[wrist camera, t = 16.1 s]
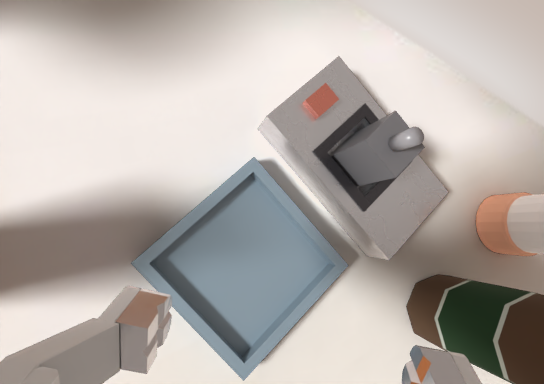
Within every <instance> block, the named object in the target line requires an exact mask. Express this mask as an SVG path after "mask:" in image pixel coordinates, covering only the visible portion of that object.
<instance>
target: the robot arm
mask: <svg viewBox="0 0 544 384" xmlns="http://www.w3.org/2000/svg"><path fill="white" fill-rule="evenodd" d="M171 306H172V296H171V295H169V294H164V293H160V292H156V291H151V290H147V289H141V288H137V287H133V286H127V287H125V288H124V289H123V290H122V291H121V293H120V294H119V295H118V296H117V297H116V298H115V299H114V301H113V302H112V303H111V304H110V305H109V306H108V308H107V309H106V310H105V311H104V312H103V313H102V314H101V316H100V317H99V318H98V319H95V318H92V319H90V320H88V321H86V322H83V323H81V324H79V325H77V326H74V327H72V328H70V329H68V330H65V331H63V332H61V333H59V334H56V335H54V336H52V337H50V338H47V339H45V340H43V341H41V342H38V343H36V344H34V345H32V346H29V347H27V348H25V349H23V350H20V351H18V352H16V353H14V354H11V355H9V356H7V357H5V358H4V359H3V360H2V361H1V362H0V384H102V383H104V382H105V381H106V380H108V379H109V378H110V377H112V376H113V375H115V374H116V373H117V372H119V371H120V369H122V370H128V371H133V372H139V373H144V374H147V373H148V371H149V369H150V367H151V365H152V364H153V362H154V360H155V358H156V356H157V348H158V347H160V346H161V345H163V343H164V341H165V339H166V337H167V334H168V332H169V329H170V324H171V316H172V315H171V314H170V312H169V309H170V308H171ZM410 356H411V359H412V360H411V361H409V362H408V363H406V364H405V366H404V369H403V372H402V384H482V383H481V381H480V380H479V378H478V376H477V374H476V373H475V371H474V369H473V367H472V366H471V364H470V362H469V360H468V359H467V357H466V356H465V355H463V354H460V353H454V352H449V351H442V350H437V349H432V348H427V347H422V346H417V345H415V346H414V347H413V348H412V350H411V352H410Z"/></svg>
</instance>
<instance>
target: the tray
mask: <svg viewBox="0 0 544 384" xmlns="http://www.w3.org/2000/svg"><path fill="white" fill-rule="evenodd" d="M131 264H132V265H133V266H134V267H135V268H136V269H137V270H138V271H139V272H140V273H141V274H142V275H143V276H144V278H145V279H146V280H147V281H148V282H149V283H150V284H151V285H152V286H153V287H154V288H155V289H156V290H157V291H158V292H160V293H164V294H169V295H171V296H172V307H173V308H174V309H175V310H176V311H177V312H178V313H179V314H180V315H181V316H182V317H183V318H184V319H185V320H186V321H187V322H188V323H189V324H190V325H191V327H192V328H193V329H194V330H195V331H196V332H197V333H198V334H199V335H200V336H201V337H202V338H203V339H204V340H205V341H206V342H207V343H208V344H209V345H210V346H211V347H212V348H213V349H214V350H215V352H216V353H217V354H218V355H219V356H220V357H221V358H222V359H223V360H224V361H225V362H226V363H227V364H228V365H229V366H230V367H231V368H232V369H233V370H234V371H235V372H236V373H237V374H238V375H239V377H240V378H241V379H242V380H243V381H244V380H245V379H246V378H247V377H248V375H249V374H250V373H251V372H252V371H253V370H254V369H255V368H256V367H257V366H258V364H259V363H260V362H261V361H262V360H263V359H264V358H265V357H266V356H267V355H268V353H269V352H270V351H271V350H272V349H273V348H274V347H275V346H276V345H277V344H278V342H279V341H280V340H281V339H282V338H283V337H284V336H285V335H286V334H287V333H288V331H289V330H290V329H291V328H292V327H293V326H294V325H295V324H296V323H297V322H298V320H299V319H300V318H301V317H302V316H303V315H304V314H305V313H306V312H307V311H308V310H309V308H310V307H311V306H312V305H313V304H314V303H315V302H316V301H317V300H318V299H319V297H320V296H321V295H322V294H323V293H324V292H325V291H326V290H327V289H328V288H329V286H330V285H331V284H332V283H333V282H334V281H335V280H336V279H337V278H338V277H339V275H340V274H341V273H342V272H343V271H344V270H345V269H346V268H347V267H348V266H349V265H348V264H347V263H346V262H345V261H344V260H343V258H342V257H341V256H340V255H339V254H338V253H337V251H336V250H335V249H334V248H333V247H332V246H331V245H330V243H329V242H328V241H327V240H326V239H325V238H324V237H323V235H322V234H321V233H320V232H319V231H318V230H317V229H316V227H315V226H314V225H313V224H312V223H311V222H310V220H309V219H308V218H307V217H306V216H305V215H304V214H303V212H302V211H301V210H300V209H299V208H298V207H297V206H296V204H295V203H294V202H293V201H292V200H291V199H290V198H289V196H288V195H287V194H286V193H285V192H284V191H283V189H282V188H281V187H280V186H279V185H278V184H277V183H276V181H275V180H274V179H273V178H272V177H271V176H270V175H269V173H268V172H267V171H266V170H265V169H264V168H263V166H262V165H261V164H260V163H259V162H258V161H257V160H256V158H255V157H253V158H252V159H251V160H250V161H249V162H247V163H246V164H245V165H244V166H243V167H242V168H241V169H239V170H238V171H237V172H236V173H235V174H234V175H232V176H231V177H230V178H229V179H228V180H227V181H225V182H224V183H223V184H222V185H221V186H220V187H219V188H217V189H216V190H215V191H214V192H213V193H212V194H210V195H209V196H208V197H207V198H206V199H205V200H203V201H202V202H201V203H200V204H199V205H198V206H197V207H195V208H194V209H193V210H192V211H191V212H190V213H188V214H187V215H186V216H185V217H184V218H183V219H181V220H180V221H179V222H178V223H177V224H176V225H175V226H173V227H172V228H171V229H170V230H169V231H168V232H166V233H165V234H164V235H163V236H162V237H161V238H159V239H158V240H157V241H156V242H155V243H154V244H153V245H151V246H150V247H149V248H148V249H147V250H146V251H144V252H143V253H142V254H141V255H140V256H139V257H137V258H136V259H135V260H134V261H133V262H132V263H131Z"/></svg>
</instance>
